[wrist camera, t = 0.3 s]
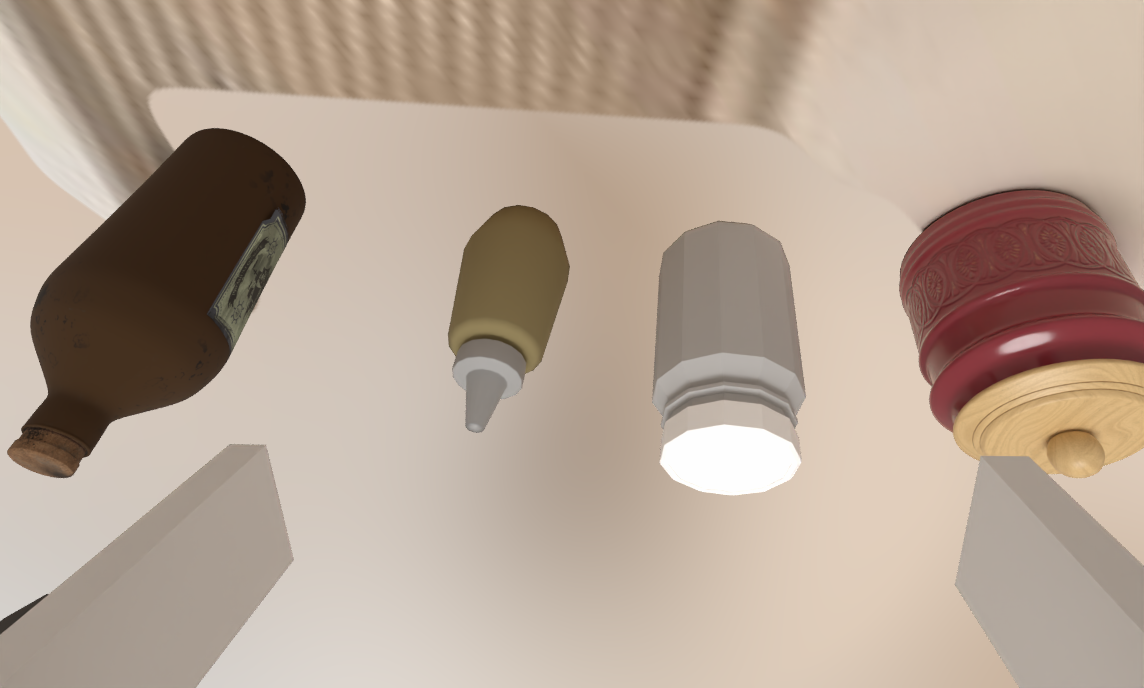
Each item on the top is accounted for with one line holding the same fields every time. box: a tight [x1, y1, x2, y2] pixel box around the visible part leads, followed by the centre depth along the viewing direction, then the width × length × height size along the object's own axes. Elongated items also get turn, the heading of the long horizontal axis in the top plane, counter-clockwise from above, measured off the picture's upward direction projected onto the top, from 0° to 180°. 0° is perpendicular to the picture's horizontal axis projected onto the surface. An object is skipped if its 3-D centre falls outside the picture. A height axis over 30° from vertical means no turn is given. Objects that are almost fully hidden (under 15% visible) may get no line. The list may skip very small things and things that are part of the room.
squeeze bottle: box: [448, 205, 570, 433], centre depth 45 cm, size 8×8×18 cm
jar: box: [652, 221, 806, 495], centre depth 45 cm, size 10×10×18 cm
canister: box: [899, 190, 1144, 478], centre depth 42 cm, size 13×13×18 cm
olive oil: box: [7, 128, 306, 478], centre depth 43 cm, size 11×11×25 cm
